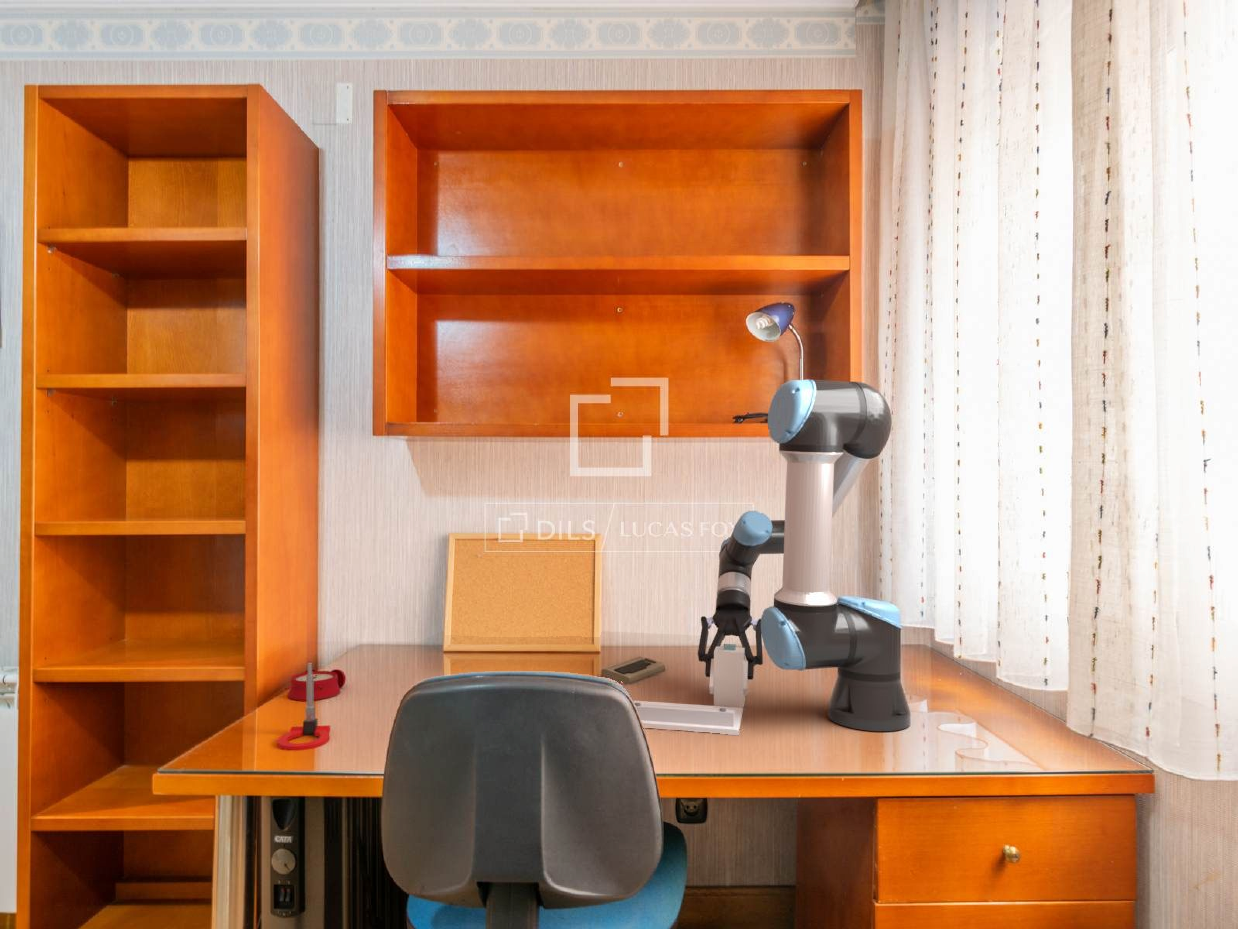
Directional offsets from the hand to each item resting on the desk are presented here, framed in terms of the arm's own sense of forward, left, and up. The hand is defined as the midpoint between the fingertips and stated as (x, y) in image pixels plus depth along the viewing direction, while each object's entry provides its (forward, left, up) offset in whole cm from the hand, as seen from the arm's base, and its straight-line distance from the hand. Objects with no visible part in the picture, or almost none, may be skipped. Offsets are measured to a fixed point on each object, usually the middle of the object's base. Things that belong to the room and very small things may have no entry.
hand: (728, 691), depth 158 cm
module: (0, -4, -3) cm, 5 cm away
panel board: (+8, +9, -3) cm, 13 cm away
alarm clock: (+87, +8, -4) cm, 88 cm away
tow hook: (+71, +36, -4) cm, 80 cm away
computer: (+24, -22, -4) cm, 33 cm away
